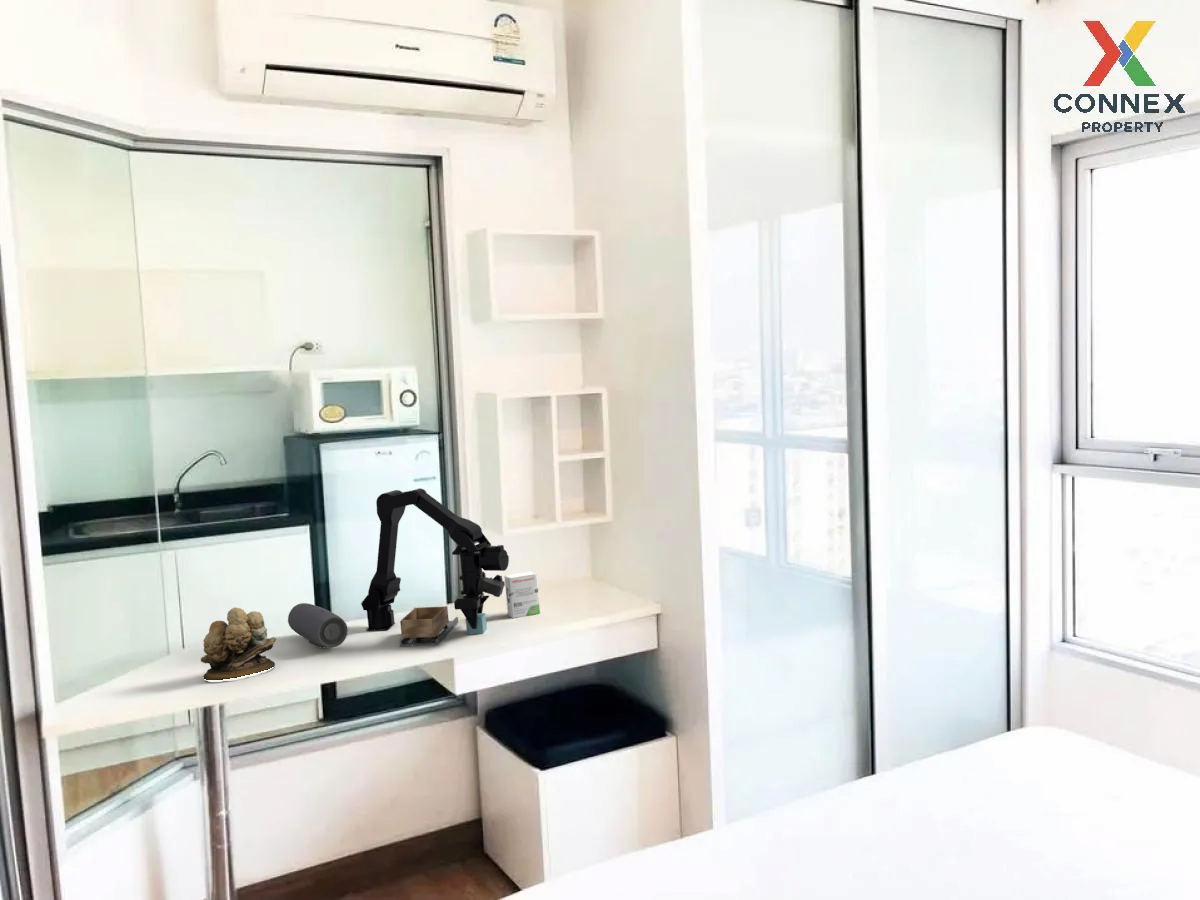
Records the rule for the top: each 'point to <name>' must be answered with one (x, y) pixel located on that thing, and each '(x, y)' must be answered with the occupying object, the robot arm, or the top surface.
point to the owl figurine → (237, 646)
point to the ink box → (522, 594)
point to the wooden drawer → (424, 622)
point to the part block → (478, 625)
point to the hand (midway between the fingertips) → (476, 626)
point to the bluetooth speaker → (317, 625)
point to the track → (428, 640)
